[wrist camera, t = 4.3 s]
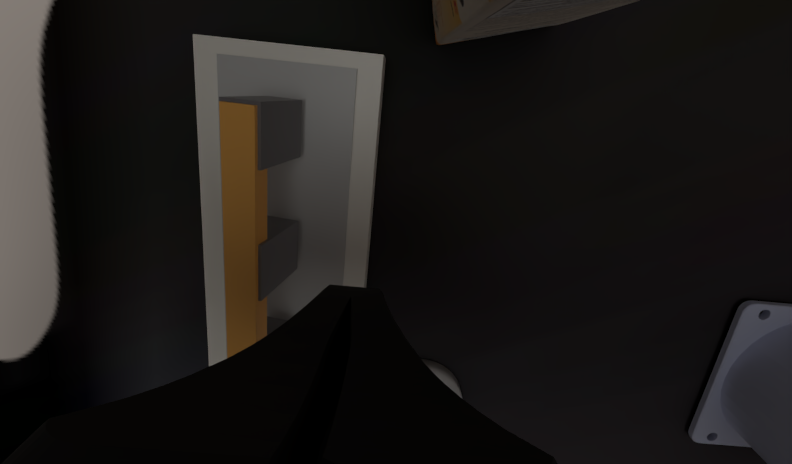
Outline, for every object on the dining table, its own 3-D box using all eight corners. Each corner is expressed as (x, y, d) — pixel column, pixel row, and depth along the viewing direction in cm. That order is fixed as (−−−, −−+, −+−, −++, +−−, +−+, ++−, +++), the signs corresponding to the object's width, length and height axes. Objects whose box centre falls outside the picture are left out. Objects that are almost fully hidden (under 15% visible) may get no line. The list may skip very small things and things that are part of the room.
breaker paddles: (301, 99, 14) (258, 101, 11) (294, 362, 17) (259, 411, 14) (266, 95, 14) (215, 96, 11) (266, 356, 17) (226, 402, 14)
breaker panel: (385, 59, 17) (383, 54, 14) (360, 348, 21) (354, 393, 18) (227, 42, 16) (189, 33, 13) (235, 337, 21) (207, 381, 18)
